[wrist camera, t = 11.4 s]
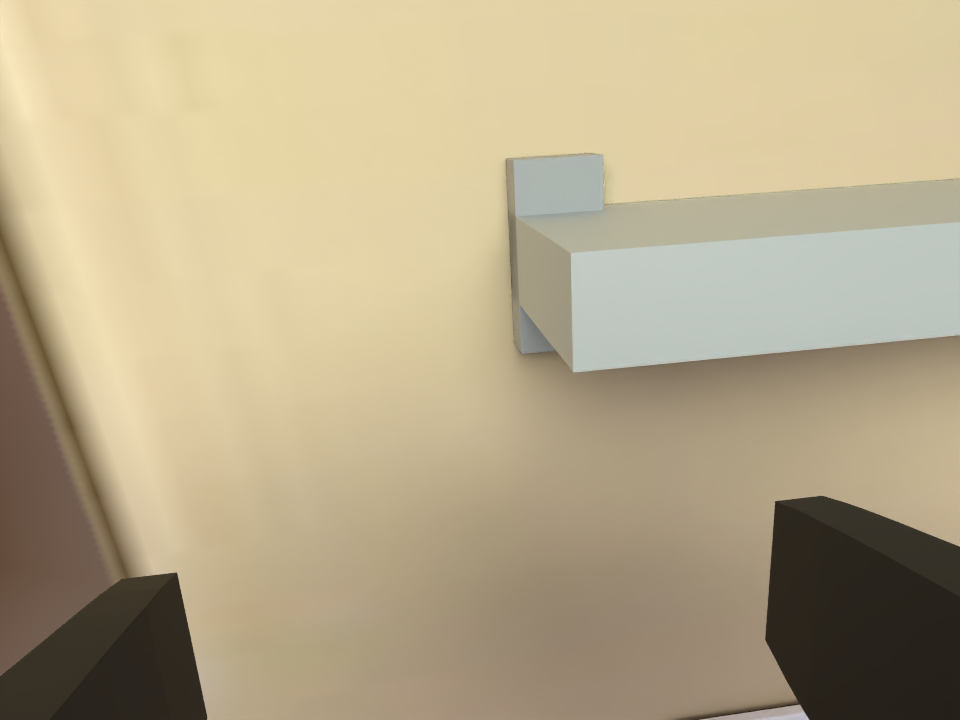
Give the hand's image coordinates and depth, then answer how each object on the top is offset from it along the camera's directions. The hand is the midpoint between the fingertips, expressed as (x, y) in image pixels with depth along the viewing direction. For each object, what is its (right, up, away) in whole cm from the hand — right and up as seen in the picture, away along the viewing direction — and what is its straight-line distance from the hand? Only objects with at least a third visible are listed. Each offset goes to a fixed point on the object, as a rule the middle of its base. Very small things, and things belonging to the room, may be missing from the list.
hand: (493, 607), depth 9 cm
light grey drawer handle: (+9, +6, +10) cm, 14 cm away
